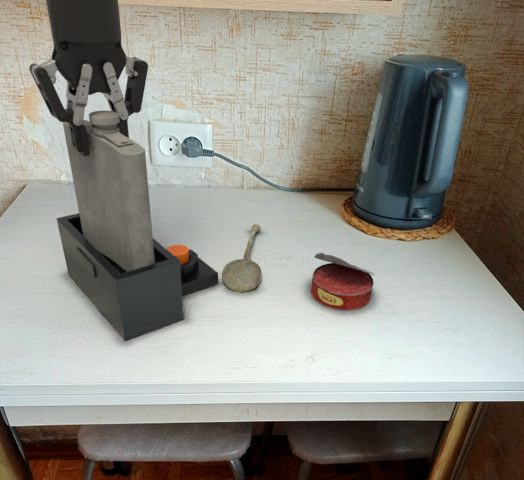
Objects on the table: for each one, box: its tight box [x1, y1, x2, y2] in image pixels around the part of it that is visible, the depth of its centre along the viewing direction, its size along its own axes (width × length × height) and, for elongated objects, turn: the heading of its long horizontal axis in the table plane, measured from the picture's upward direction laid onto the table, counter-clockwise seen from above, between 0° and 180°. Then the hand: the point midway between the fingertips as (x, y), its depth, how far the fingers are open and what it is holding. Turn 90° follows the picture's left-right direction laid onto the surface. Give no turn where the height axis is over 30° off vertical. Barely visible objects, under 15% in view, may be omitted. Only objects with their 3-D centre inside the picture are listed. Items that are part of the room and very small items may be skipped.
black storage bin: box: [56, 212, 184, 342], centre depth 76 cm, size 10×21×10 cm, turn 37°
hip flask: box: [62, 110, 155, 272], centre depth 68 cm, size 16×4×20 cm, turn 45°
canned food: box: [310, 252, 376, 312], centre depth 82 cm, size 11×10×10 cm
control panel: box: [180, 248, 219, 297], centre depth 83 cm, size 9×10×4 cm
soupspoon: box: [221, 223, 263, 293], centre depth 90 cm, size 22×3×7 cm
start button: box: [166, 244, 189, 264], centre depth 82 cm, size 4×4×2 cm
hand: (102, 150), depth 65 cm, fingers closed on hip flask, 4 cm apart
